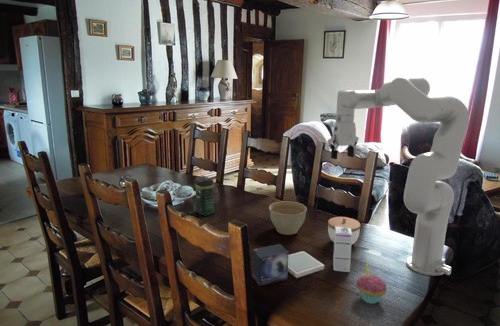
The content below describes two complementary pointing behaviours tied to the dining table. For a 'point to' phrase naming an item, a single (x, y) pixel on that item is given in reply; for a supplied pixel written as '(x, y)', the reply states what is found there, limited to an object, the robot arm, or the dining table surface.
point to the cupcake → (371, 287)
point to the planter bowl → (287, 216)
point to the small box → (270, 264)
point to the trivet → (303, 264)
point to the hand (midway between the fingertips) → (342, 157)
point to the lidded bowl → (344, 223)
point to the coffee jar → (204, 195)
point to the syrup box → (342, 249)
